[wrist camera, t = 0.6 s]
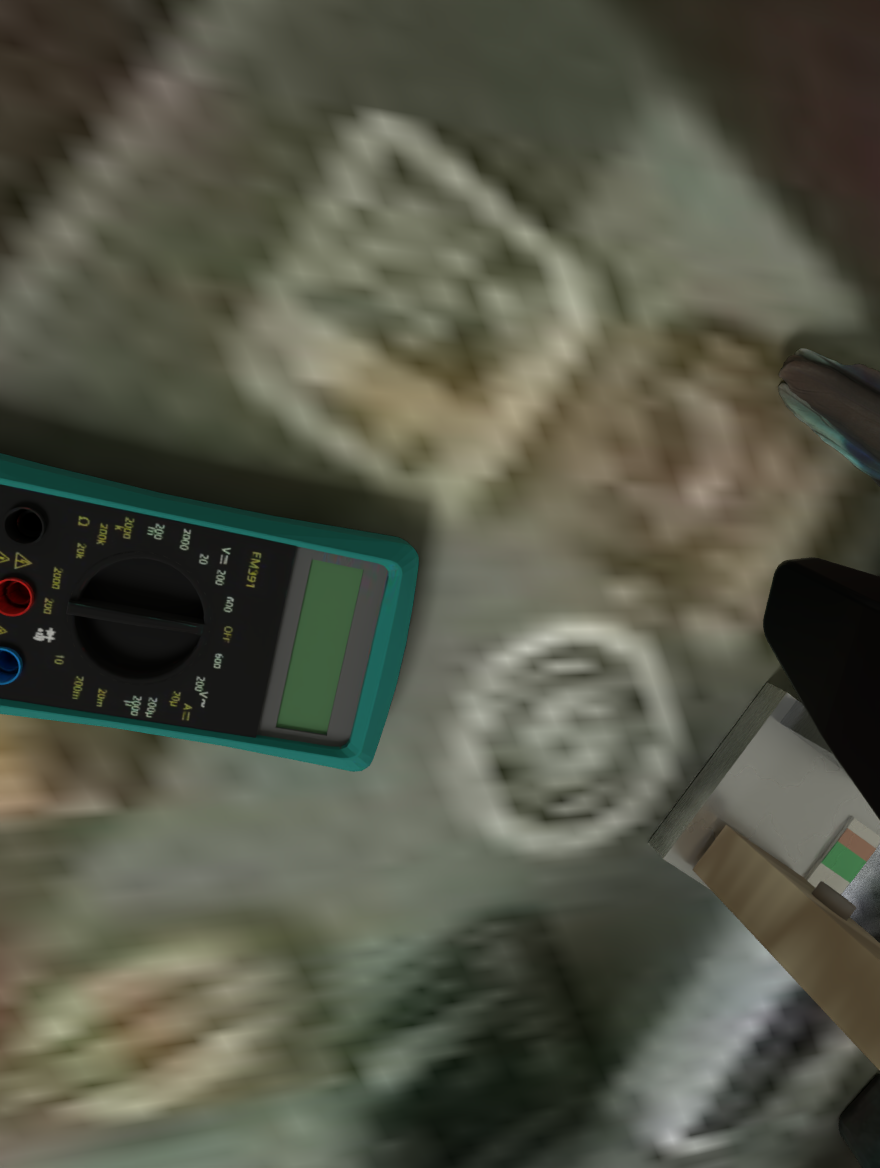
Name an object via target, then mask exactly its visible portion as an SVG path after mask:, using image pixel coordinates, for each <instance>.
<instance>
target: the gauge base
mask: <svg viewBox="0 0 880 1168" xmlns="http://www.w3.org/2000/svg"><path fill="white" fill-rule="evenodd" d="M725 825H728V826H729V827H731V828H732V829H734V830H735V831H736V832H738V833H739V834H741V835H742V836H744V837H745V838H747V839H748V840H750V841H751V842H753V843H754V844H755V845H757V846H758V847H760V848H761V849H763V850H764V851H766V852H767V853H769V854H770V855H772V856H773V857H774V858H776V859H777V860H779V861H780V862H782V863H783V864H785V865H786V866H788V867H789V868H791V869H792V870H793V871H795V872H796V873H798V874H799V875H801V876H802V877H803V878H805V879H806V880H807V881H808V882H809V883H810V884H812V885H813V886H814V887H815V888H816V887H817V885H818V884H819V883H820V881H822V882H824V883H826V884H827V885H828V886H830V887H831V888H833V889H834V890H835V891H837V892H838V893H839V894H842V893H843V891H844V890H845V889H846V887H847V886H848V885H849V884H850V883H851V881H852V880H853V879H854V878H855V876H856V875H857V874H858V872H859V871H860V870H861V868H862V867H863V866H864V864H865V863H866V862H867V860H868V859H869V858H870V856H871V855H872V854H873V853H874V851H875V850H876V848H877V847H878V845H879V844H880V820H879V819H878V817H877V816H876V814H875V813H874V811H873V810H872V809H871V807H870V806H869V804H868V803H867V802H866V800H865V799H864V797H863V796H862V794H861V793H860V792H859V790H858V789H857V787H856V786H855V785H854V783H853V782H852V780H851V779H850V777H849V776H848V775H847V773H846V772H845V770H844V769H843V767H842V766H841V765H840V763H839V762H838V760H837V759H836V758H835V756H834V755H833V753H832V752H831V750H830V749H829V747H828V746H827V744H826V743H825V741H824V740H823V738H822V737H821V735H820V733H819V731H818V730H817V728H816V726H815V725H814V723H813V721H812V720H811V718H810V716H809V714H808V712H807V711H806V709H805V707H804V705H803V704H802V702H800V701H798V700H796V699H795V698H794V697H792V696H791V695H790V694H788V693H787V692H785V691H783V690H781V689H779V688H778V687H776V686H774V685H772V684H770V683H768V682H767V683H766V685H765V686H764V687H763V689H762V690H761V691H760V693H759V694H758V696H757V697H756V698H755V700H754V701H753V702H752V704H751V705H750V706H749V708H748V709H747V710H746V712H745V713H744V714H743V716H742V717H741V718H740V720H739V721H738V722H737V724H736V725H735V726H734V728H733V729H732V730H731V732H730V733H729V734H728V736H727V737H726V738H725V740H724V741H723V743H722V744H721V745H720V747H719V748H718V749H717V751H716V752H715V753H714V755H713V756H712V757H711V759H710V760H709V761H708V763H707V764H706V765H705V767H704V768H703V769H702V771H701V772H700V773H699V775H698V776H697V777H696V779H695V780H694V781H693V783H692V784H691V785H690V787H689V788H688V790H687V791H686V792H685V794H684V795H683V796H682V798H681V799H680V800H679V802H678V803H677V804H676V806H675V807H674V808H673V810H672V811H671V812H670V814H669V815H668V816H667V818H666V819H665V820H664V822H663V823H662V824H661V826H660V827H659V828H658V830H657V831H656V832H655V834H654V835H653V837H652V838H651V839H650V841H649V842H648V843H649V844H650V845H651V846H652V847H653V848H654V849H655V850H656V852H657V853H658V854H659V855H660V856H661V857H662V858H663V859H664V860H665V861H667V862H669V863H670V864H672V865H673V866H675V867H676V868H678V869H679V870H681V871H682V872H684V873H685V874H687V875H689V876H690V877H692V878H693V879H695V880H696V881H698V882H699V883H701V884H702V885H704V886H705V887H707V888H709V887H708V886H707V885H706V884H705V883H704V882H703V881H702V880H701V879H700V877H699V876H698V875H697V874H696V873H695V872H694V871H693V868H694V867H695V866H696V864H697V863H698V862H699V860H700V859H701V858H702V856H703V855H704V854H705V852H706V851H707V850H708V848H709V847H710V846H711V844H712V843H713V842H714V840H715V839H716V837H717V836H718V835H719V833H720V832H721V831H722V829H723V828H724V827H725ZM709 889H710V888H709ZM710 890H711V889H710Z"/></svg>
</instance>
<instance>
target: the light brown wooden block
mask: <svg viewBox="0 0 880 1168" xmlns="http://www.w3.org/2000/svg"><path fill="white" fill-rule="evenodd" d="M693 871H694V872H695V873H696V874H697V875H698V876H699V877H700V879H701V880H702V881H703V882H704V883H705V884H706V885H707V886H708V887H709V888H710V889H711V890H712V891H713V892H714V894H715V895H716V896H717V897H718V898H719V899H720V900H721V901H722V902H723V903H724V904H725V905H726V906H727V907H728V909H729V910H730V911H731V912H732V913H733V914H734V915H735V916H736V917H737V918H738V919H739V920H740V921H741V922H742V924H743V925H744V926H745V927H746V928H747V929H748V930H749V931H750V932H751V933H752V934H753V935H754V936H755V938H756V939H757V940H758V941H759V942H760V943H761V944H762V945H763V946H764V947H765V948H766V949H767V950H768V951H769V953H770V954H771V955H772V956H773V957H774V958H775V959H776V960H777V961H778V962H779V963H780V964H781V965H782V966H783V968H784V969H785V970H786V971H787V972H788V973H789V974H790V975H791V976H792V977H793V978H794V979H795V980H796V982H797V983H798V984H799V985H800V986H801V987H802V988H803V989H804V990H805V991H806V992H807V993H808V994H809V995H810V997H811V998H812V999H813V1000H814V1001H815V1002H816V1003H817V1004H818V1005H819V1006H820V1007H821V1008H822V1009H823V1010H824V1012H825V1013H826V1014H827V1015H828V1016H829V1017H830V1018H831V1019H832V1020H833V1021H834V1022H835V1023H836V1024H837V1025H838V1027H839V1028H840V1029H841V1030H842V1031H843V1032H844V1033H845V1034H846V1035H847V1036H848V1037H849V1038H850V1039H851V1041H852V1042H853V1043H854V1044H855V1045H856V1046H857V1047H858V1048H859V1049H860V1050H861V1051H862V1052H863V1053H864V1054H865V1056H866V1057H867V1058H868V1059H869V1060H870V1061H871V1062H872V1063H873V1064H874V1065H875V1066H876V1067H877V1068H878V1069H879V1071H880V943H879V942H878V941H877V940H876V939H874V938H873V937H872V936H871V935H870V934H869V933H867V932H866V931H865V930H864V929H863V928H862V927H861V926H859V925H858V924H857V923H856V922H855V921H854V920H852V919H851V918H850V916H851V914H852V913H853V912H854V910H855V909H856V907H855V906H854V905H853V904H852V903H851V902H849V901H848V900H847V899H846V898H844V897H843V896H842V895H841V894H839V893H838V892H837V891H835V890H834V889H833V888H831V887H830V886H828V885H827V884H826V883H824V882H822V881H820V883H819V884H818V885H817V887H816V888H815V887H814V886H813V885H812V884H810V883H809V882H808V881H807V880H806V879H805V878H803V877H802V876H801V875H799V874H798V873H796V872H795V871H793V870H792V869H791V868H789V867H788V866H786V865H785V864H783V863H782V862H780V861H779V860H777V859H776V858H774V857H773V856H772V855H770V854H769V853H767V852H766V851H764V850H763V849H761V848H760V847H758V846H757V845H755V844H754V843H753V842H751V841H750V840H748V839H747V838H745V837H744V836H742V835H741V834H739V833H738V832H736V831H735V830H734V829H732V828H731V827H729V826H728V825H725V827H724V828H723V829H722V831H721V832H720V833H719V835H718V836H717V837H716V839H715V840H714V842H713V843H712V844H711V846H710V847H709V848H708V850H707V851H706V852H705V854H704V855H703V856H702V858H701V859H700V860H699V862H698V863H697V864H696V866H695V867H694V868H693Z"/></svg>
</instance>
